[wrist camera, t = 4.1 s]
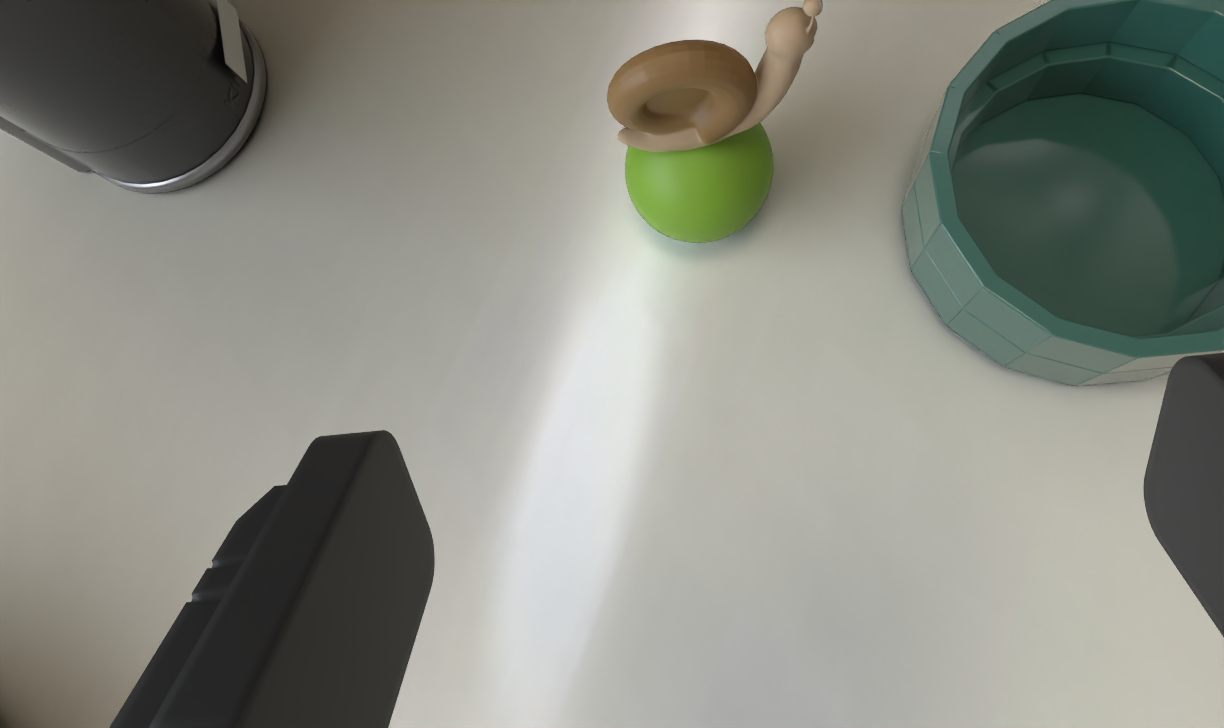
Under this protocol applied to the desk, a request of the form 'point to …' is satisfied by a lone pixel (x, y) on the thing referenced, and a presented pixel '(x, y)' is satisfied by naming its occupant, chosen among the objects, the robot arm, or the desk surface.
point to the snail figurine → (705, 126)
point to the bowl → (1080, 191)
